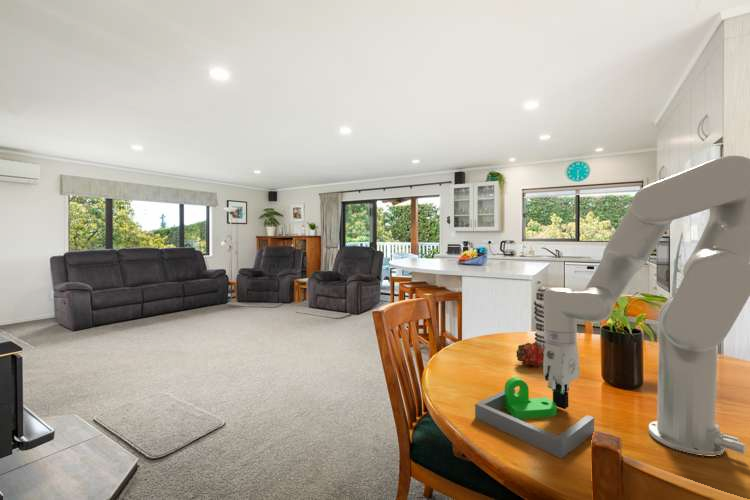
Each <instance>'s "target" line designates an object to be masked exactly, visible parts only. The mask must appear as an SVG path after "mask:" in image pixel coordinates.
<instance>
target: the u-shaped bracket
mask: <svg viewBox="0 0 750 500" xmlns="http://www.w3.org/2000/svg"><path fill="white" fill-rule="evenodd" d="M513 393H514V394H515V393H516V389H515V388H514V390H513ZM474 408H475V409H474V412H475V414H474V416H475V417H474V418H475V419H476V420H479V421H481V422H483V423H485V424H487V425H489V426H492V427H494V428H496V429H498V430H500V431H502V432H504V433H507V434H509V435H510V436H512V437H515V438H517V439H519V440H521V441H523V442H525V443H527V444H529V445H532V446H533V447H536V448H538V449H540V450H542V451H545V452H546V451H547V452H546V453H548V452H549V453H548V454H550V453H551V454H550V455H552V454H554V455H553V456H555V457H557V456H558V457H557V458H559V457H560V458H559V459H561V458H562V459H564V458H565V457H566V456H567V455H569V454H570V453H571V452H573V451H574V450H575V449H577V447H579V446H580V445H581V444H583V442H584V441H585V439H586V438H587V437H588V438H589V437H590V436H592V435H593V434H594V433H595V417H594V416H591V415H588V414H587V415H585V416H584V417H582V418H581V419H579V420H578V421H577V422H576V423H574V424H573V425H571V426H570V427H569V428H566V430H564V431H563V432H562V433H560V434H559V435H556V434H554V433H551V432H549V431H547V430H545V429H542V428H540V427H538V426H535V425H533V424H531V423H528V422H526V421H523V419H517V418H515V417H513V416H512V415H511V414H510V415H509V414H507V413H506V412H502V411H501V410H503V409H505V389H503V390H501V391H500V392H498V393H495V394H493V395H491V396H490V397H486V398H485V399H482V400H480V401H478V402H476V403H475V405H474ZM593 432H594V433H593ZM592 433H593V434H592ZM588 438H587V439H588ZM587 439H586V440H587ZM574 448H575V449H574ZM570 451H571V452H570ZM569 452H570V453H569ZM568 453H569V454H568ZM566 454H567V455H566ZM565 455H566V456H565ZM564 456H565V457H564ZM563 457H564V458H563Z"/></svg>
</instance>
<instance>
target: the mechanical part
mask: <svg viewBox="0 0 750 500" xmlns="http://www.w3.org/2000/svg"><path fill="white" fill-rule="evenodd" d="M517 387H519V388H518V389H519V390H518V391H517V392H515V394H514V393H513V390H514V389H515V388H517ZM504 390H505V408H504V409H505V410H506V411H507V412H508V413H509V414H510V416H512V417H515V418H517V419H519V420H523V419H537V418H538V419H539V418H553V417H556V415H557V414H558V413H557V412H558V411H557V408H558V407H557V405H556V404H555V403H554V402H553V399H552V400H551V398H549V397H536V398H529V395H530V394H529V391H530V390H529V385H528V383H527V382H525V380H522V378H520V377H517V376H512V377H510V378H509V379H508V380H506V382H505V384H504Z"/></svg>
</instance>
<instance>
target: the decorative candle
mask: <svg viewBox="0 0 750 500" xmlns="http://www.w3.org/2000/svg"><path fill="white" fill-rule="evenodd" d="M548 288H553V287H551V286H550V287H549V286H542V287H541V286H540V287H538V288H537V290H536V291H535V292H536V295H535V296H536V298H535V301H534V302H533V304H534V308H533V309H534V315H535V316H534V322H535V323H536V324H535V333H534V336H535V337H534V340H535V341H534V343H536V344H537V345H538V346H541V347H542V348H543V354H544V349H545V341H544V291H545V290H546V289H548Z"/></svg>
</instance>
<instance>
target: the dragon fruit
mask: <svg viewBox="0 0 750 500" xmlns="http://www.w3.org/2000/svg"><path fill="white" fill-rule="evenodd" d="M517 347H518V348H517V350H516V358H517V361H519V362H521V363H522V364H523V365H524V366H526V367H530V366H533V367H539V366H540V364H541V363H542V362H544V354H543V348H542V347H541V346H538V345H537V344H536V343H535V342H533V343H530V342H527V343H524V344H519V345H518V346H517Z"/></svg>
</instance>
